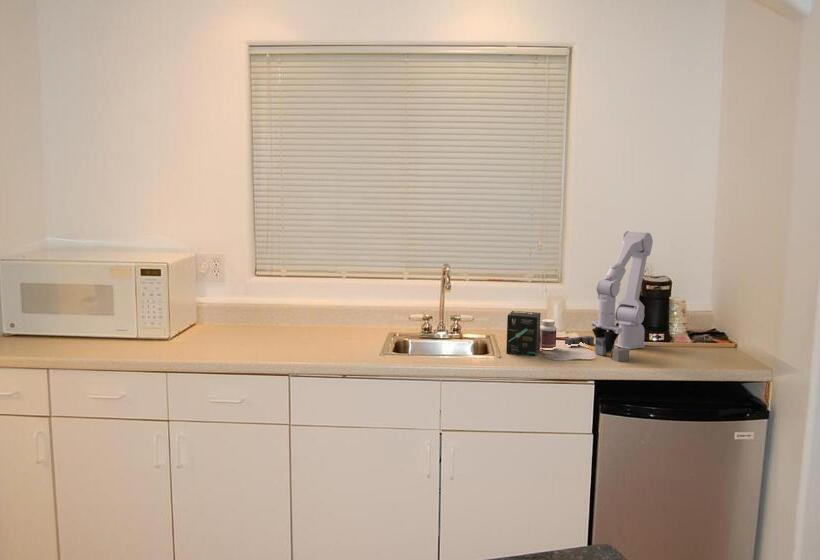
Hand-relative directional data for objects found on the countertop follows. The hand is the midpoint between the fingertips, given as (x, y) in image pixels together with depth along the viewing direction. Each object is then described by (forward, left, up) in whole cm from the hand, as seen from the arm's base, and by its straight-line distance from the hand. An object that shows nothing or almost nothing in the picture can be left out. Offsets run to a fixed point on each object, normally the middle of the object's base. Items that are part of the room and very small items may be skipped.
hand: (604, 348), depth 263 cm
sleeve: (0, 0, -2) cm, 2 cm away
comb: (0, -15, -2) cm, 15 cm away
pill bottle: (+15, -15, -2) cm, 21 cm away
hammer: (0, -3, -2) cm, 3 cm away
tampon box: (+26, -15, -2) cm, 30 cm away
